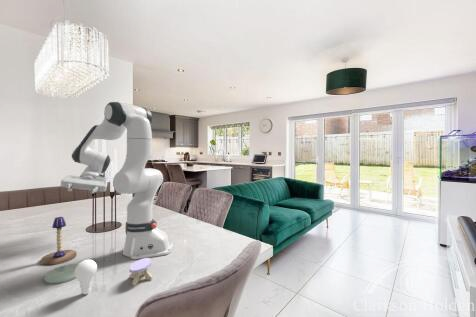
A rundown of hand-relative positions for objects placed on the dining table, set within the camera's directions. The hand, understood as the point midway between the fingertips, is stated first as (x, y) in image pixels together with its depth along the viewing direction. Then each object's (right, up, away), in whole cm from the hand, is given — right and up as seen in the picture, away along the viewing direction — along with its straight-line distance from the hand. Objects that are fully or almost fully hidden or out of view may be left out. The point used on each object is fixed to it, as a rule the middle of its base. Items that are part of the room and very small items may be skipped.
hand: (80, 191), depth 110 cm
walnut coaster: (0, -27, -14) cm, 31 cm away
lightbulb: (+28, -28, -38) cm, 55 cm away
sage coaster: (+13, -28, -27) cm, 40 cm away
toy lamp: (0, -26, -14) cm, 30 cm away
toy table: (+42, -28, -28) cm, 58 cm away
